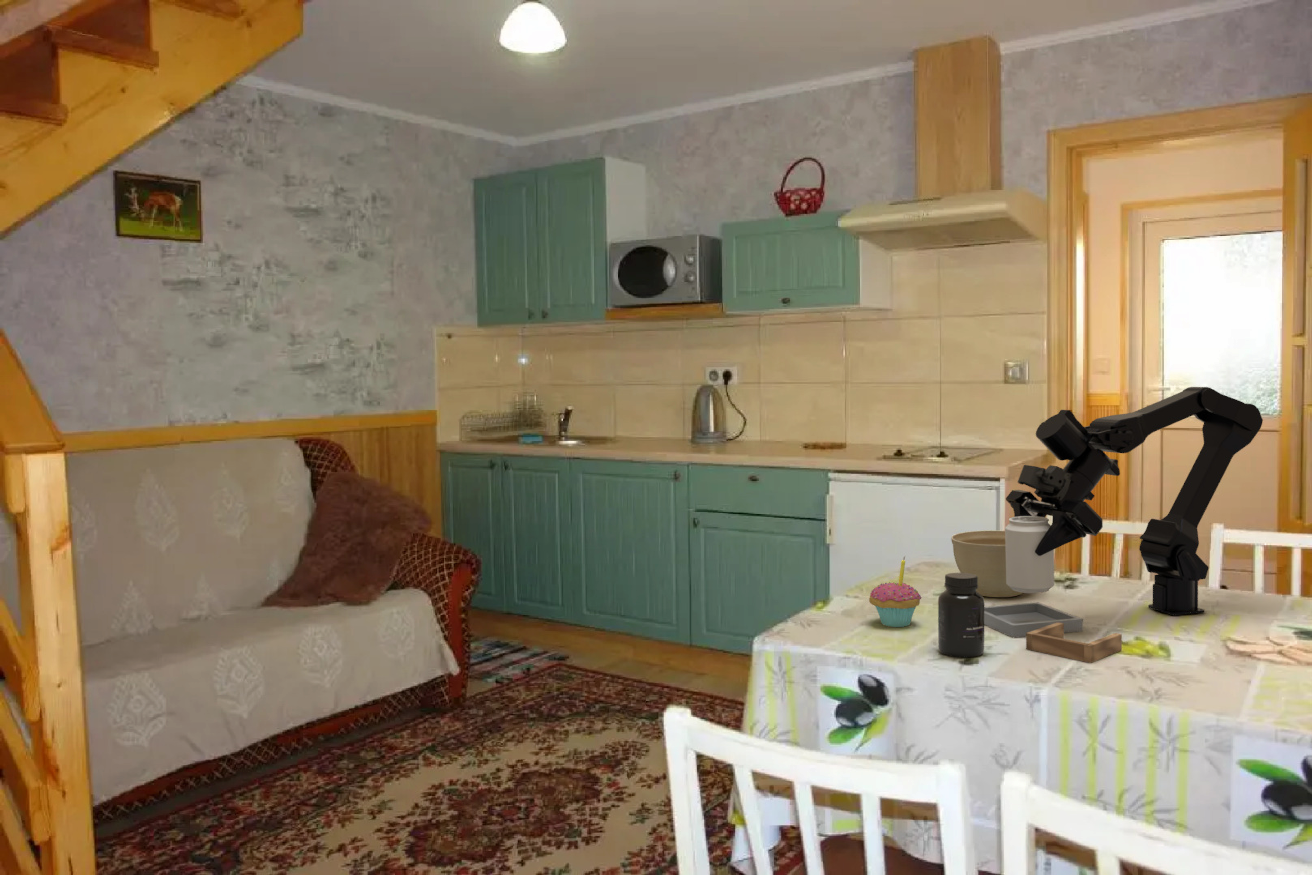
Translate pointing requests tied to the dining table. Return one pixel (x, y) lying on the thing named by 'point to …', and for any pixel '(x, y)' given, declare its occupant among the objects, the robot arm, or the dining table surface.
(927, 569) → the dining table surface
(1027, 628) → the tray
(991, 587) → the planter bowl
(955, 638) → the supplement bottle
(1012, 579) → the can
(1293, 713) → the dining table surface
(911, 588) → the cupcake
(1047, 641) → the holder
